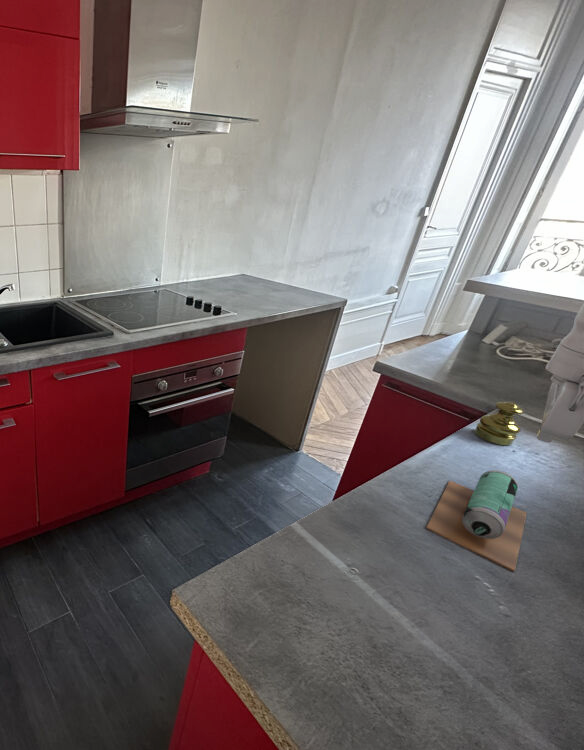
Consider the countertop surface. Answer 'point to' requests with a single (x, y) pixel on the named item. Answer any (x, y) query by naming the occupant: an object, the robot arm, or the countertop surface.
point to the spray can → (490, 505)
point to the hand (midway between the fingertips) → (543, 438)
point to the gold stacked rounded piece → (500, 424)
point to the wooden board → (451, 527)
